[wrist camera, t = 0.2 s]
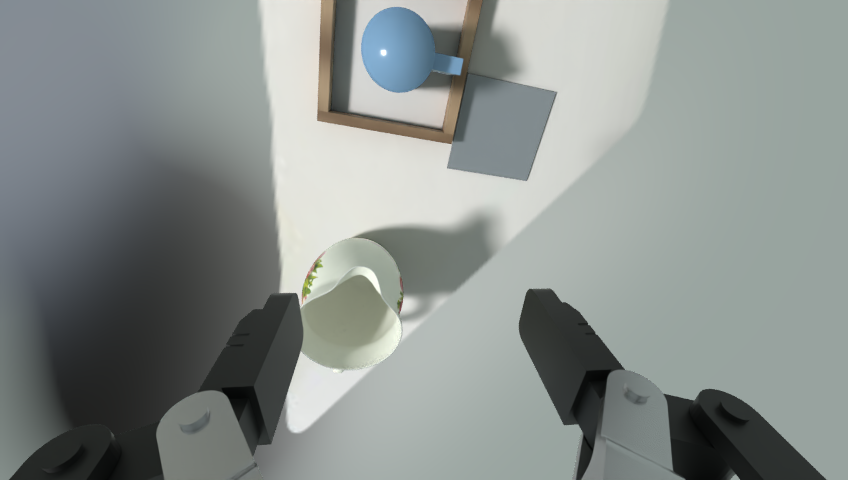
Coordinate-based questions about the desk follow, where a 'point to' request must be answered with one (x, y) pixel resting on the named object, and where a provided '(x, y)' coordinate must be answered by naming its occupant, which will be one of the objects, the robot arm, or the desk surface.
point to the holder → (383, 125)
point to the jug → (403, 51)
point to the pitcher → (352, 306)
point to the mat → (499, 127)
